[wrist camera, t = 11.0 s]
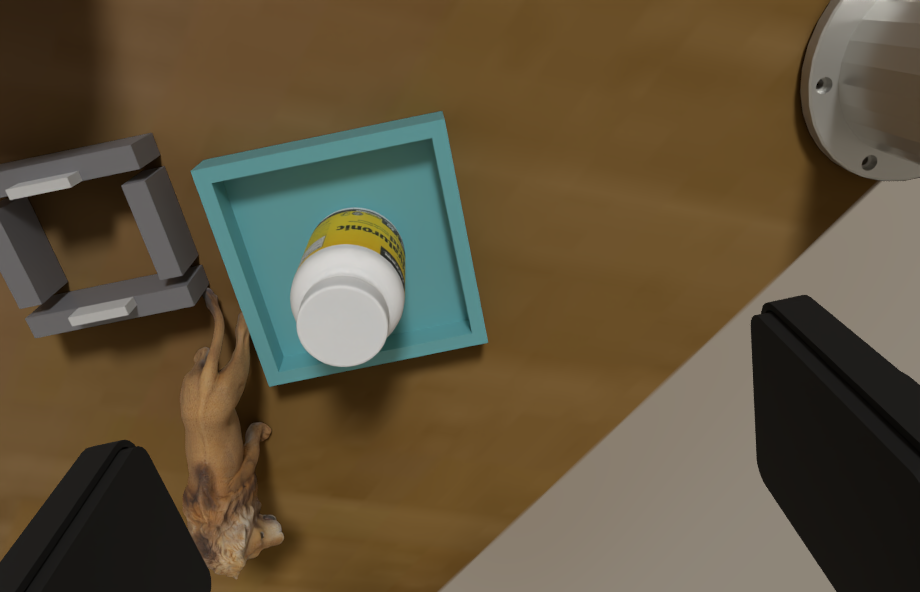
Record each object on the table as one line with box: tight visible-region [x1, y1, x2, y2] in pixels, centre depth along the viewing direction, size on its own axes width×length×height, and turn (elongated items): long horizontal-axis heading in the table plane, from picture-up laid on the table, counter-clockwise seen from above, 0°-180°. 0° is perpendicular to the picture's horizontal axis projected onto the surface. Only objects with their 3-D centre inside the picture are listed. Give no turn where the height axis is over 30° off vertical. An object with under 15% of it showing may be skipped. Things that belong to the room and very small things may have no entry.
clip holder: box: [0, 133, 209, 338], centre depth 35 cm, size 9×9×4 cm
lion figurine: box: [180, 288, 284, 579], centre depth 38 cm, size 15×5×9 cm, turn 6°
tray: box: [191, 111, 488, 387], centre depth 38 cm, size 13×13×2 cm
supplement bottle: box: [290, 207, 405, 367], centre depth 34 cm, size 5×5×10 cm
